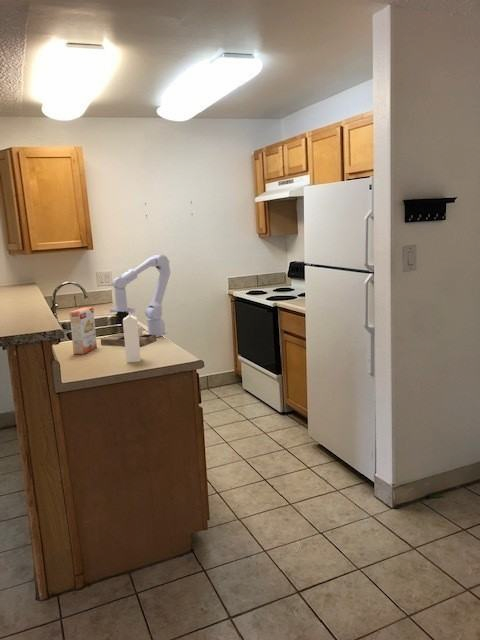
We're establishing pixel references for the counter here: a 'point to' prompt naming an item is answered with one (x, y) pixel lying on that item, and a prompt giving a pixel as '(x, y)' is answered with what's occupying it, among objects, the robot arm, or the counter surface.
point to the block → (140, 330)
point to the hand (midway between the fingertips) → (123, 325)
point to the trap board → (119, 340)
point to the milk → (131, 338)
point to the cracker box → (83, 330)
